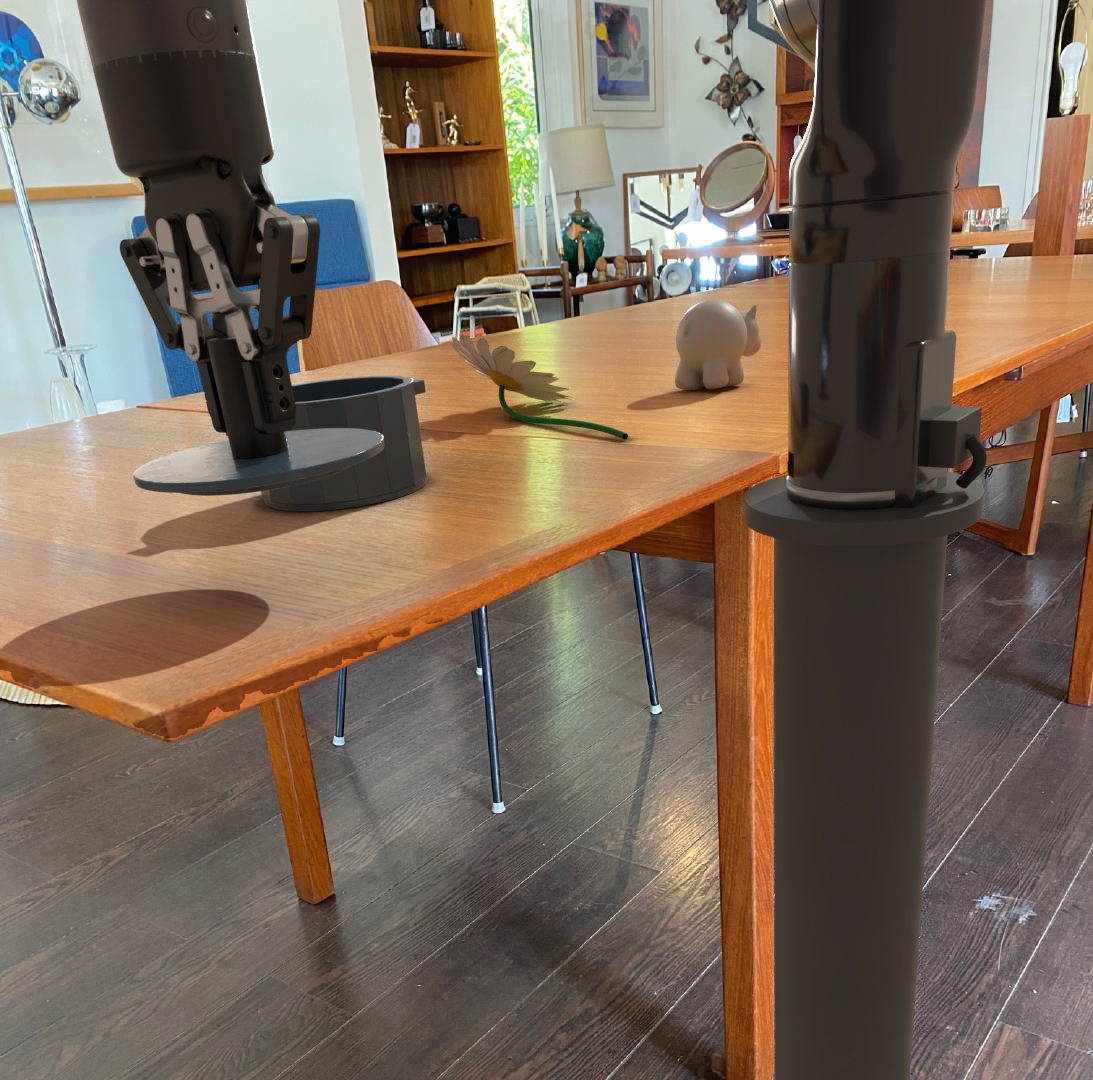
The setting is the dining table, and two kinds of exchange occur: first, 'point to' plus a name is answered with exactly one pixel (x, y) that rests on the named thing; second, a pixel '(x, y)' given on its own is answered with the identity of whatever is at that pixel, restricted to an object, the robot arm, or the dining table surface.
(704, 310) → the chubby cartoon animal
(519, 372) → the flower
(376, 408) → the pot
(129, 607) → the dining table surface
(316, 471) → the lid
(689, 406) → the dining table surface
